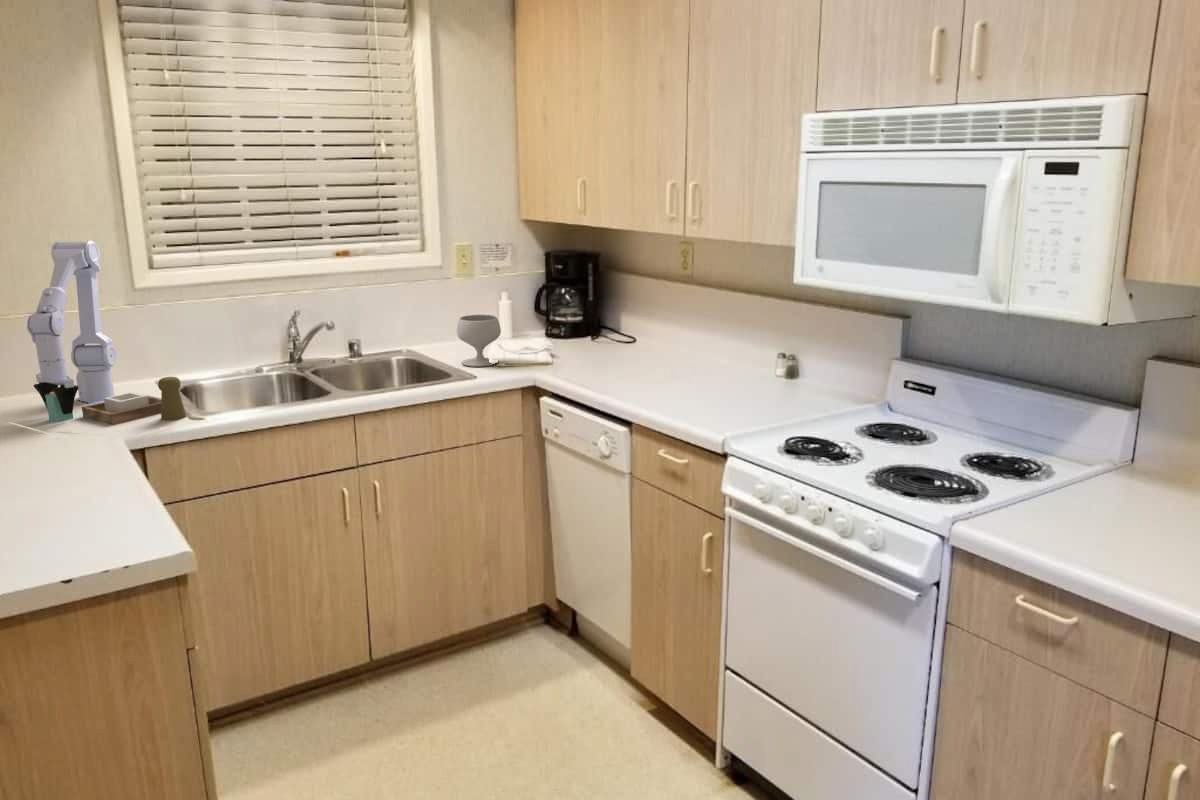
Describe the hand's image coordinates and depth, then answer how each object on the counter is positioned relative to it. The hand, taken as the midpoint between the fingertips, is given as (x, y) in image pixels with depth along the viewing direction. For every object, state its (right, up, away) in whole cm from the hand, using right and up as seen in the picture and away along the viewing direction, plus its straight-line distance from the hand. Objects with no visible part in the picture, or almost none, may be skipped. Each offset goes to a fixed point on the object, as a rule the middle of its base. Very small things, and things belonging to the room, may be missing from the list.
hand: (60, 411), depth 237 cm
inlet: (+15, -1, +5) cm, 16 cm away
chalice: (+100, +15, +61) cm, 118 cm away
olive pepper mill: (+29, -2, +1) cm, 29 cm away
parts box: (+15, -1, +5) cm, 16 cm away
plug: (0, -2, +1) cm, 2 cm away
